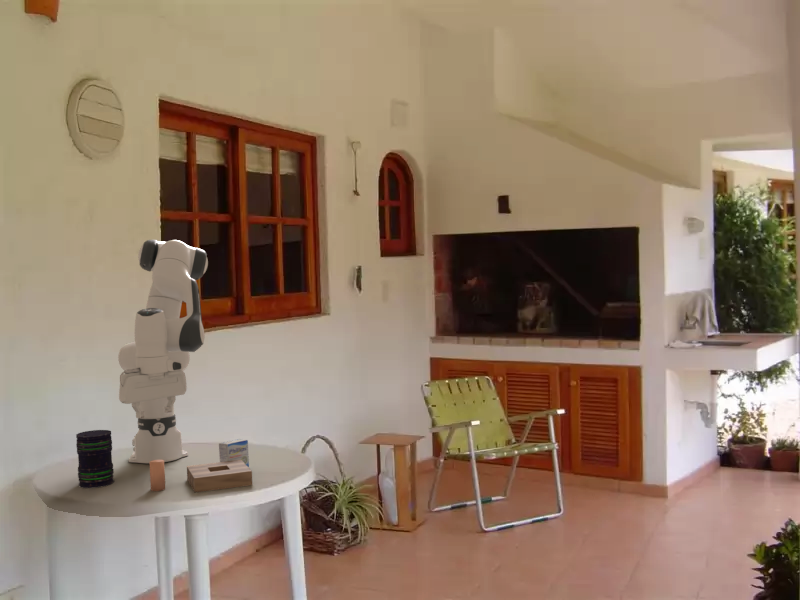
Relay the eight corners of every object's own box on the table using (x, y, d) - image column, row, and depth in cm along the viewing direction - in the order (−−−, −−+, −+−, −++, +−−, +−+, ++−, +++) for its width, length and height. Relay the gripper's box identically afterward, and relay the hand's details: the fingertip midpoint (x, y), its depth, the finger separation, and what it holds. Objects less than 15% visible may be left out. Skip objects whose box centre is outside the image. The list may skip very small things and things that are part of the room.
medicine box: (228, 472, 254) (227, 444, 254) (219, 470, 257) (218, 442, 257) (249, 467, 260) (248, 439, 260) (240, 465, 263) (239, 438, 263)
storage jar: (100, 477, 254) (98, 428, 253) (121, 481, 248) (118, 431, 248) (71, 485, 246) (68, 434, 245) (91, 489, 240) (89, 437, 239)
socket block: (187, 479, 248) (186, 466, 248) (241, 472, 253) (241, 459, 253) (195, 492, 233) (194, 478, 233) (252, 485, 239) (251, 471, 238)
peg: (150, 488, 239) (148, 460, 239) (164, 486, 240) (163, 458, 240) (151, 491, 235) (150, 463, 235) (166, 489, 237) (164, 461, 236)
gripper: (126, 371, 226) (128, 422, 227) (188, 362, 242) (190, 410, 243) (113, 370, 230) (115, 420, 231) (175, 361, 246) (177, 408, 247)
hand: (154, 415), depth 237 cm, fingers open, 8 cm apart
